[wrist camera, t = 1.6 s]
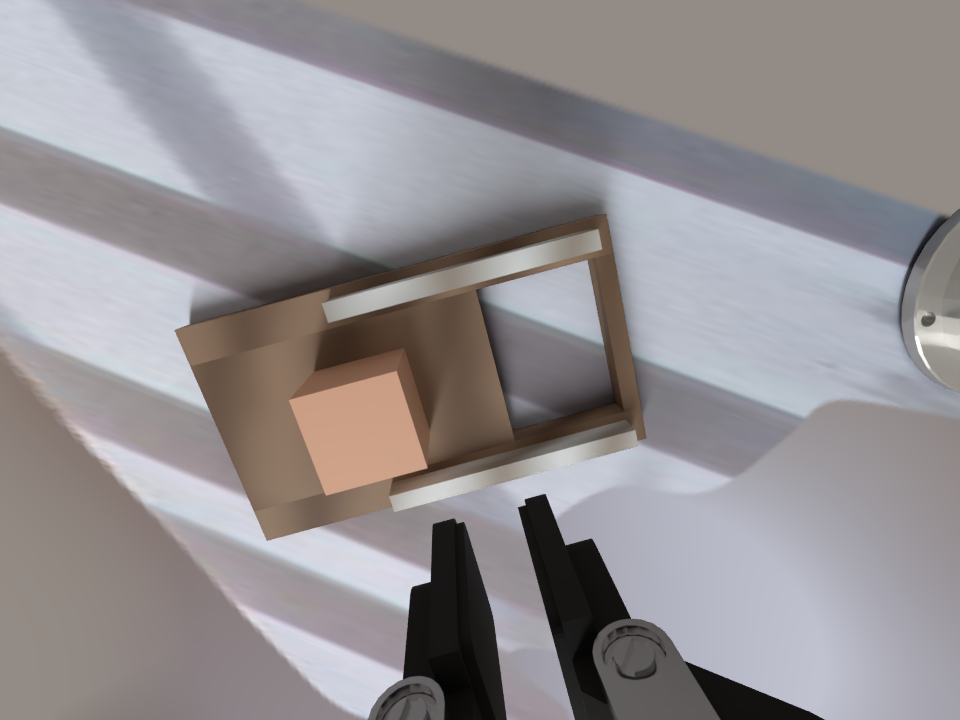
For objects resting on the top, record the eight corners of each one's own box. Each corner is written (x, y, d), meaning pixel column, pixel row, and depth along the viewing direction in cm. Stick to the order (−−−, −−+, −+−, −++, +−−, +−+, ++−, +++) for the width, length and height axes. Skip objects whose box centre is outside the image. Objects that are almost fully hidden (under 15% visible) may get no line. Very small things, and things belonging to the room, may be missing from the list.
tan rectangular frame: (597, 215, 27) (616, 213, 24) (636, 428, 30) (657, 449, 27) (188, 324, 27) (158, 336, 24) (275, 525, 30) (257, 557, 27)
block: (404, 347, 26) (396, 371, 22) (429, 430, 28) (427, 468, 23) (313, 371, 26) (288, 399, 22) (344, 453, 28) (325, 495, 23)
